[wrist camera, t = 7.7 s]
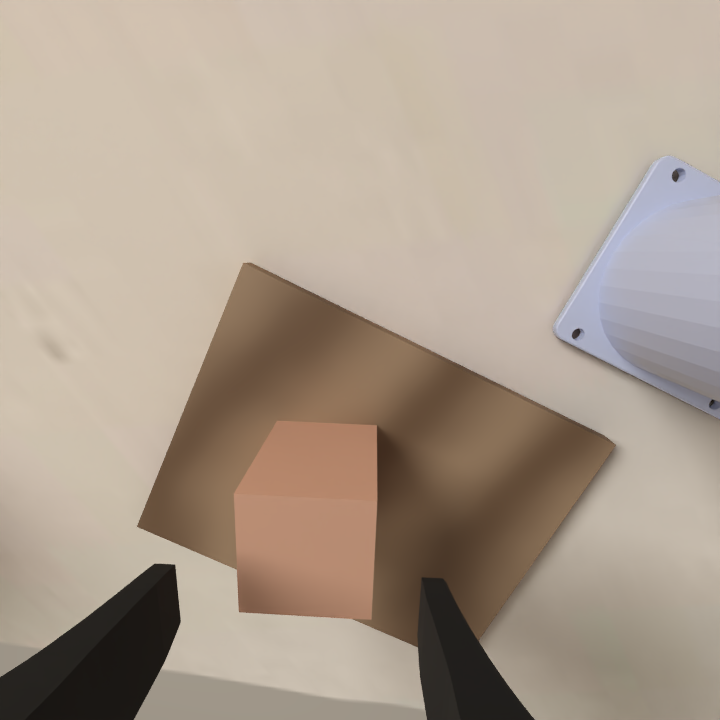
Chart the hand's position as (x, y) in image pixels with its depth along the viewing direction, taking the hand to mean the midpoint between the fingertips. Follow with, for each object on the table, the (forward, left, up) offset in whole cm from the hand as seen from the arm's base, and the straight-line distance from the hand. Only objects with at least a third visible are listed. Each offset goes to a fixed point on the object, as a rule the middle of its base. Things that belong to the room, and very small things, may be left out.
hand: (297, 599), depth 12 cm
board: (-2, 0, -9) cm, 9 cm away
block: (0, 0, -8) cm, 8 cm away
